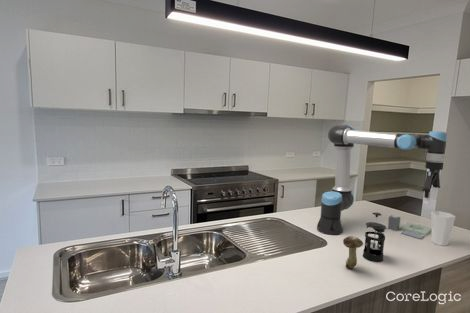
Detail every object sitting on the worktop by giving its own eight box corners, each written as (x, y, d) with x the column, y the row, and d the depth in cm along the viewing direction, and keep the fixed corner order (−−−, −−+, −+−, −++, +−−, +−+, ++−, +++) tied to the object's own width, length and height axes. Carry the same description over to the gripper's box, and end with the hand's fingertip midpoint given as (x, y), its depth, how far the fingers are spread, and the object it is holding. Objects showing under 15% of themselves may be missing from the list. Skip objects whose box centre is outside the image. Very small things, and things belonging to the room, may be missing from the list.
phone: (400, 234, 177) (400, 232, 177) (404, 232, 181) (404, 230, 181) (421, 240, 169) (421, 238, 169) (424, 238, 173) (424, 235, 173)
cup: (452, 243, 164) (456, 214, 162) (450, 249, 157) (454, 218, 155) (429, 237, 172) (432, 209, 170) (426, 242, 165) (429, 213, 162)
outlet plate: (400, 229, 185) (400, 226, 184) (407, 224, 194) (407, 221, 194) (425, 236, 174) (425, 233, 174) (431, 230, 184) (432, 227, 184)
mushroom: (358, 275, 127) (361, 243, 125) (338, 269, 132) (340, 238, 130) (362, 266, 135) (365, 236, 133) (342, 261, 140) (345, 231, 138)
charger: (387, 228, 185) (389, 216, 184) (390, 227, 188) (391, 214, 187) (396, 231, 181) (397, 218, 180) (399, 229, 185) (400, 216, 184)
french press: (374, 264, 138) (379, 217, 135) (357, 256, 146) (361, 212, 143) (389, 259, 144) (394, 214, 141) (372, 251, 152) (376, 208, 149)
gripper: (436, 164, 138) (431, 207, 141) (449, 160, 155) (444, 199, 158) (418, 162, 144) (414, 203, 146) (433, 158, 160) (428, 196, 163)
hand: (429, 201), depth 152 cm, fingers open, 13 cm apart
